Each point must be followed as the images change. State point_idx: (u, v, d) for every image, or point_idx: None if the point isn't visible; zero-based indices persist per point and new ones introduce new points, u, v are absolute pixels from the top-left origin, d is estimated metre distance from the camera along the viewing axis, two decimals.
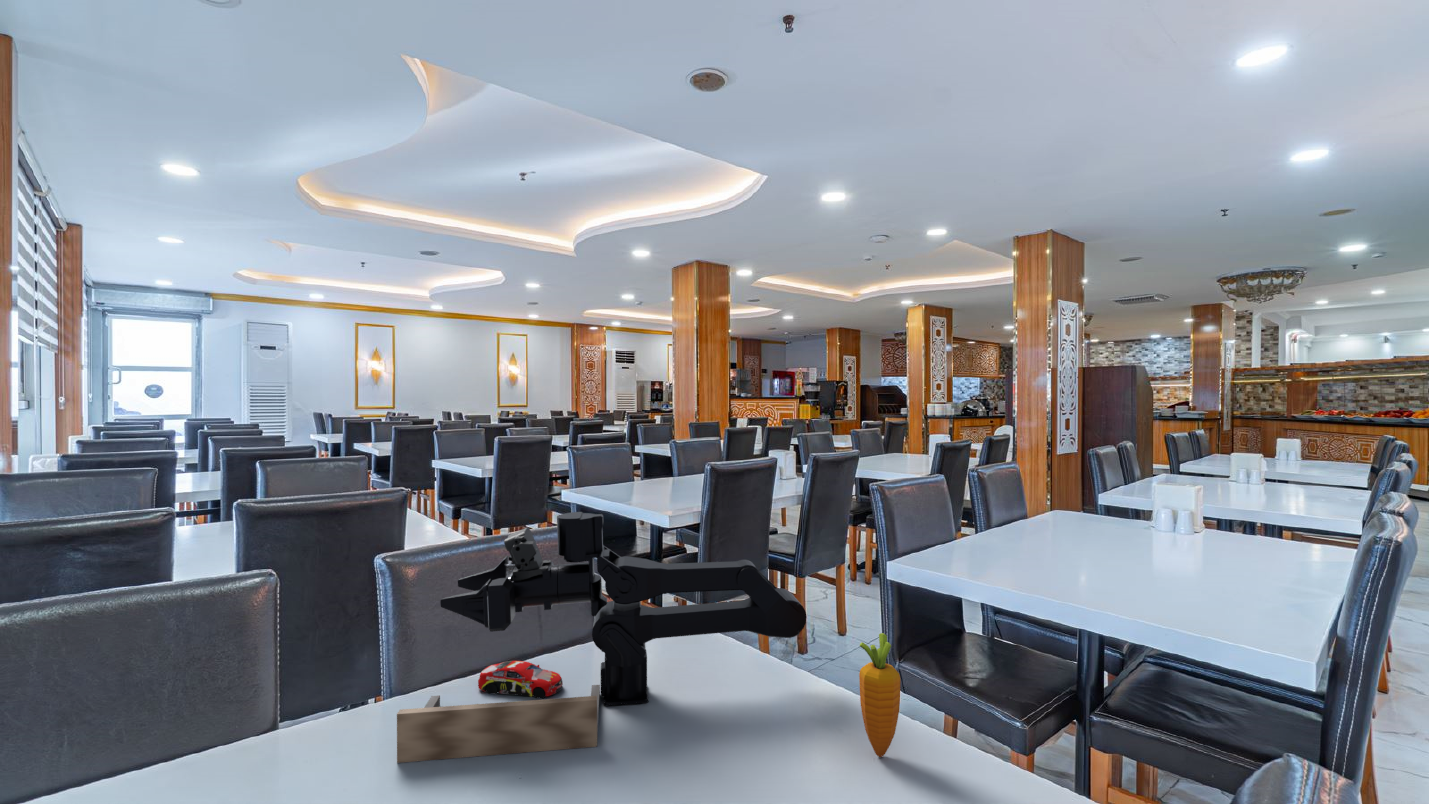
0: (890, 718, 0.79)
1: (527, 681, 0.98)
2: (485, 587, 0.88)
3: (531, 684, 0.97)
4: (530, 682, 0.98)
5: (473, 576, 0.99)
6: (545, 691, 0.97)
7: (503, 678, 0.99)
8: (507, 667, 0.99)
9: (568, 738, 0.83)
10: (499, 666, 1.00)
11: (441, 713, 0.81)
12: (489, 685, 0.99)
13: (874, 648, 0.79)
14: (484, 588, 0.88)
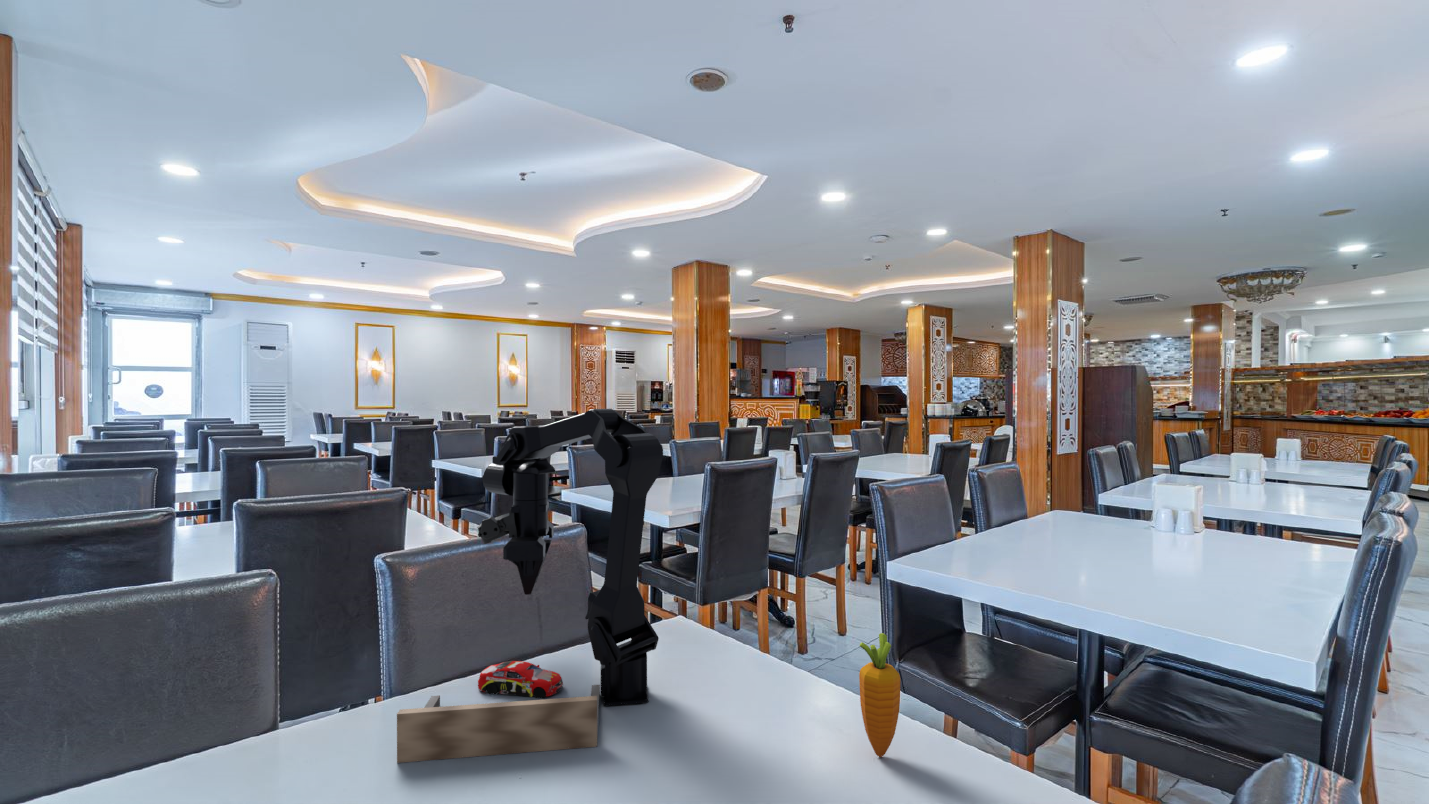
0: (890, 718, 0.79)
1: (527, 681, 0.98)
2: None
3: (531, 684, 0.97)
4: (530, 682, 0.98)
5: None
6: (545, 691, 0.97)
7: (503, 678, 0.98)
8: (507, 667, 0.99)
9: (568, 738, 0.83)
10: (499, 666, 1.00)
11: (441, 713, 0.81)
12: (489, 685, 0.99)
13: (874, 648, 0.79)
14: (509, 560, 1.05)
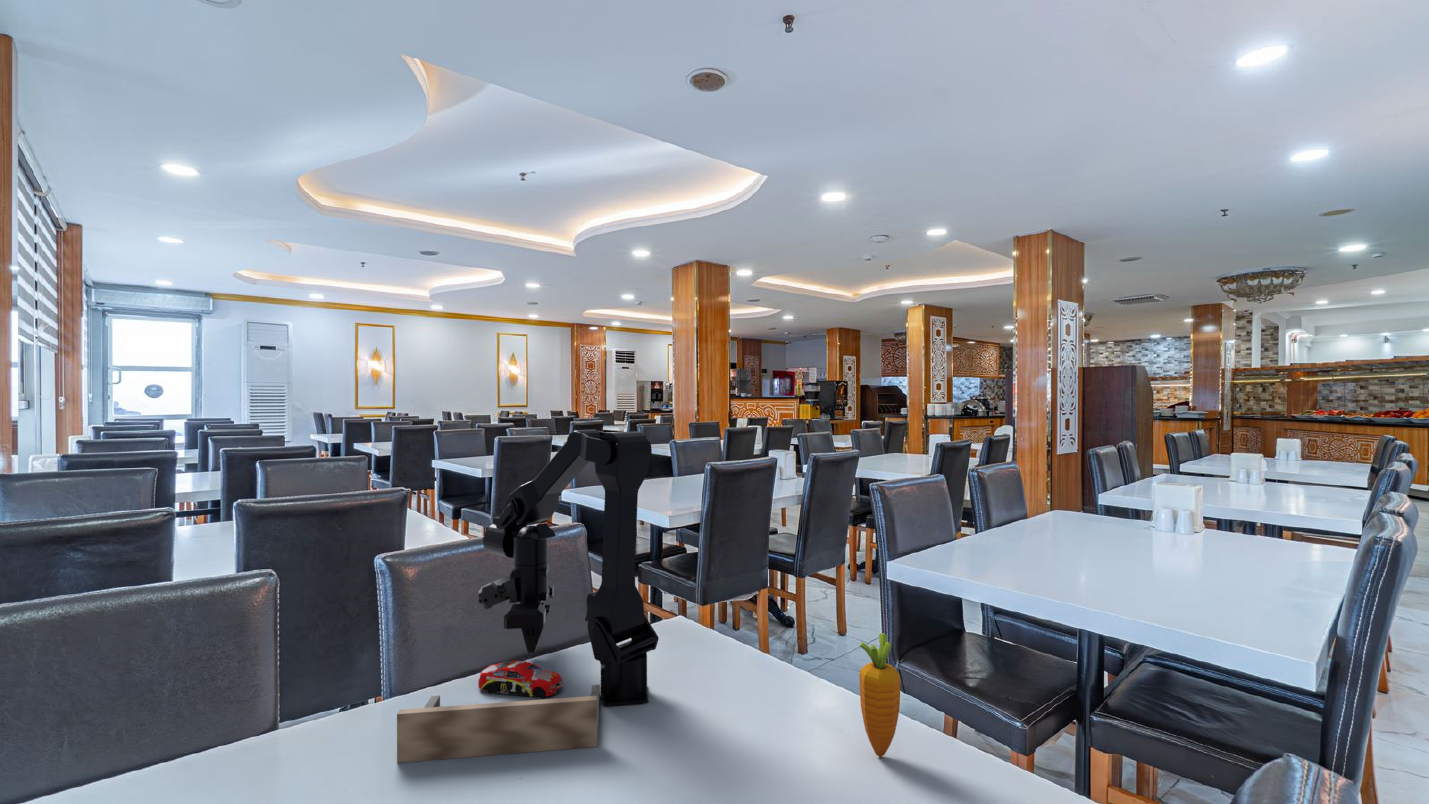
0: (890, 718, 0.79)
1: (527, 681, 0.98)
2: None
3: (531, 684, 0.97)
4: (530, 682, 0.98)
5: None
6: (545, 691, 0.97)
7: (503, 678, 0.99)
8: (508, 667, 0.99)
9: (568, 738, 0.83)
10: (499, 666, 1.00)
11: (441, 713, 0.81)
12: (489, 685, 0.99)
13: (874, 648, 0.79)
14: None
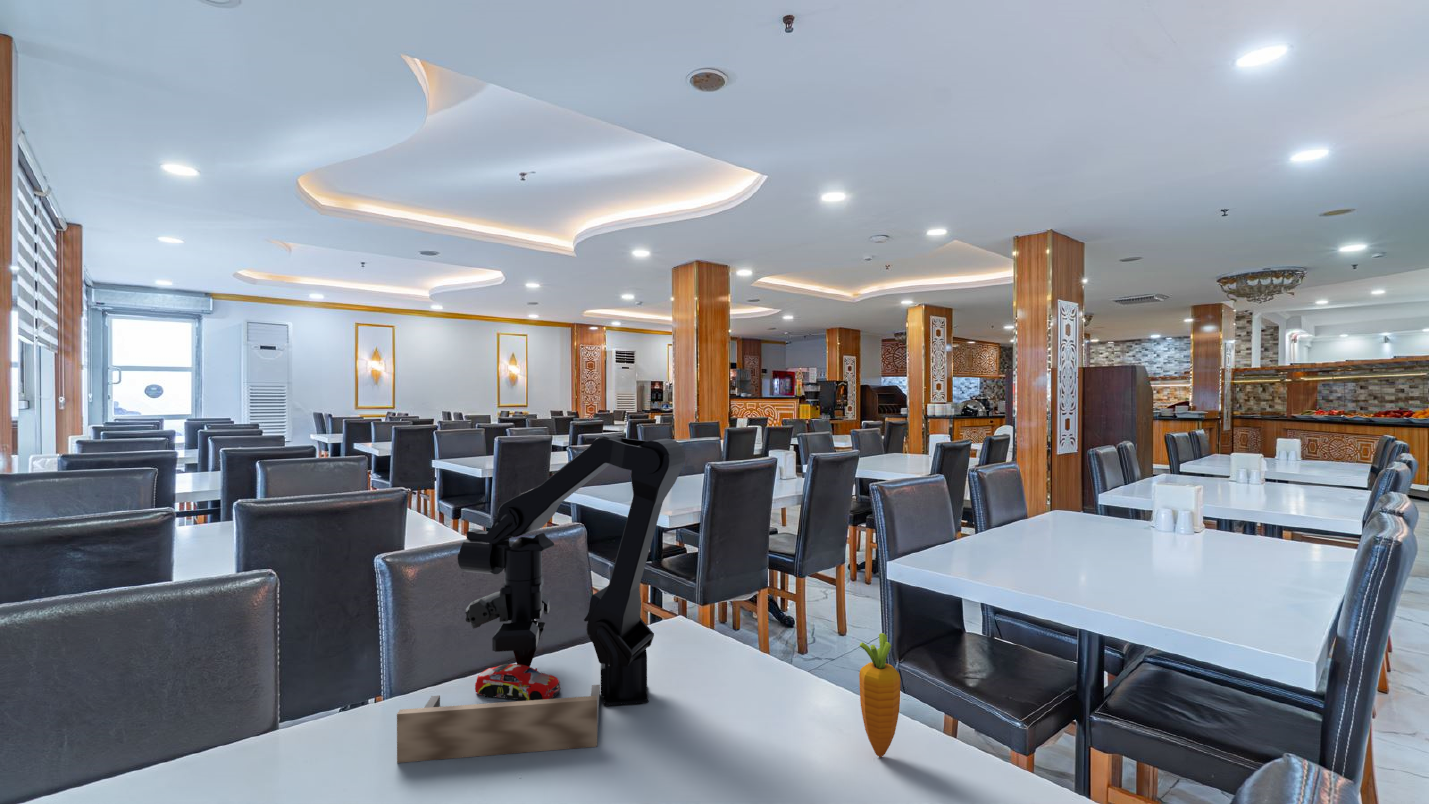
0: (890, 718, 0.79)
1: (524, 685, 0.96)
2: None
3: (528, 688, 0.96)
4: (527, 686, 0.96)
5: None
6: (542, 695, 0.96)
7: (500, 682, 0.97)
8: (504, 671, 0.98)
9: (568, 738, 0.83)
10: (496, 669, 0.99)
11: (441, 713, 0.81)
12: (486, 689, 0.98)
13: (874, 648, 0.79)
14: None
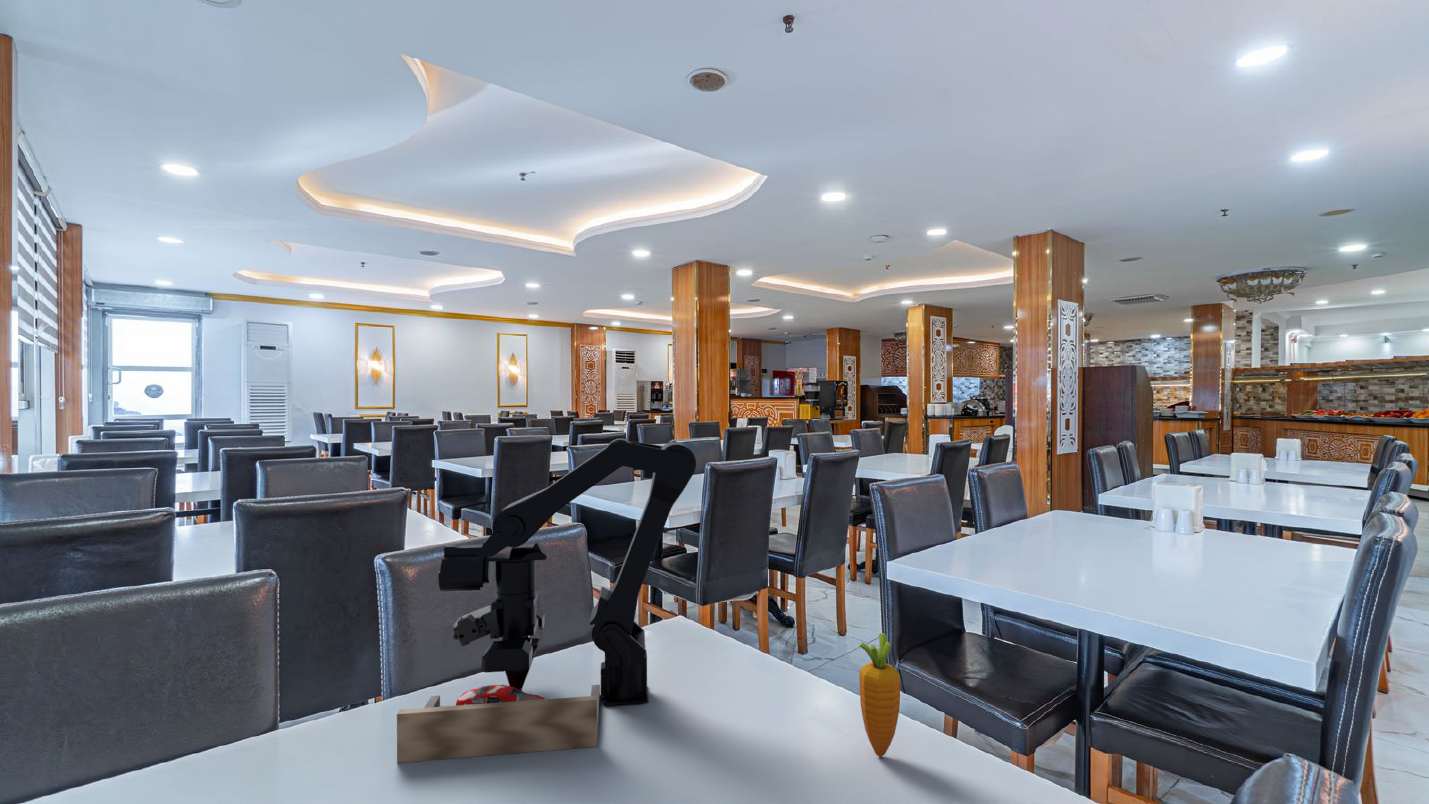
0: (890, 718, 0.79)
1: None
2: None
3: None
4: None
5: None
6: None
7: None
8: (488, 693, 0.91)
9: (568, 738, 0.83)
10: (478, 692, 0.92)
11: (441, 713, 0.81)
12: None
13: (874, 648, 0.79)
14: None
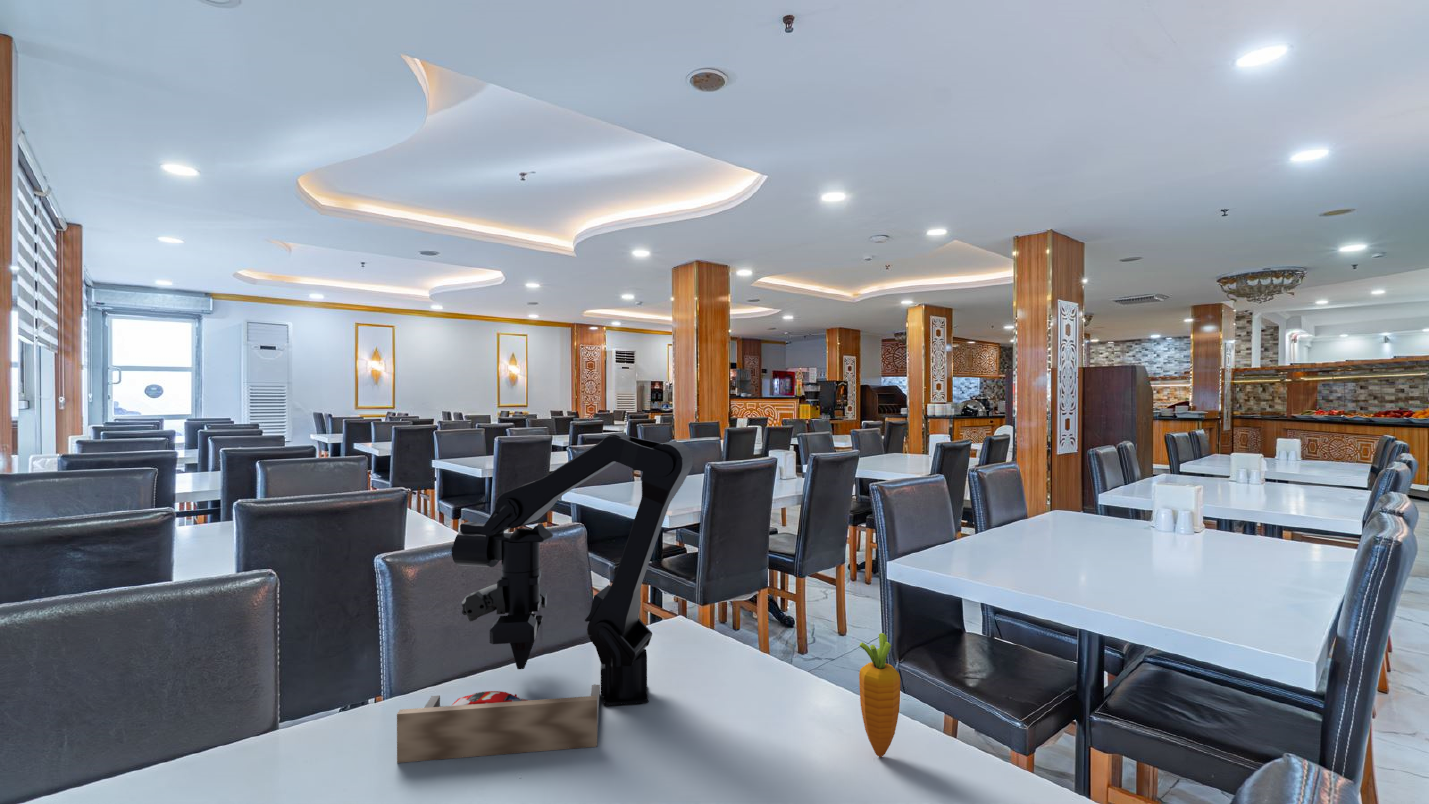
0: (890, 718, 0.79)
1: None
2: None
3: None
4: None
5: None
6: None
7: None
8: (482, 700, 0.89)
9: (568, 738, 0.83)
10: (472, 699, 0.89)
11: (441, 713, 0.81)
12: None
13: (874, 648, 0.79)
14: None
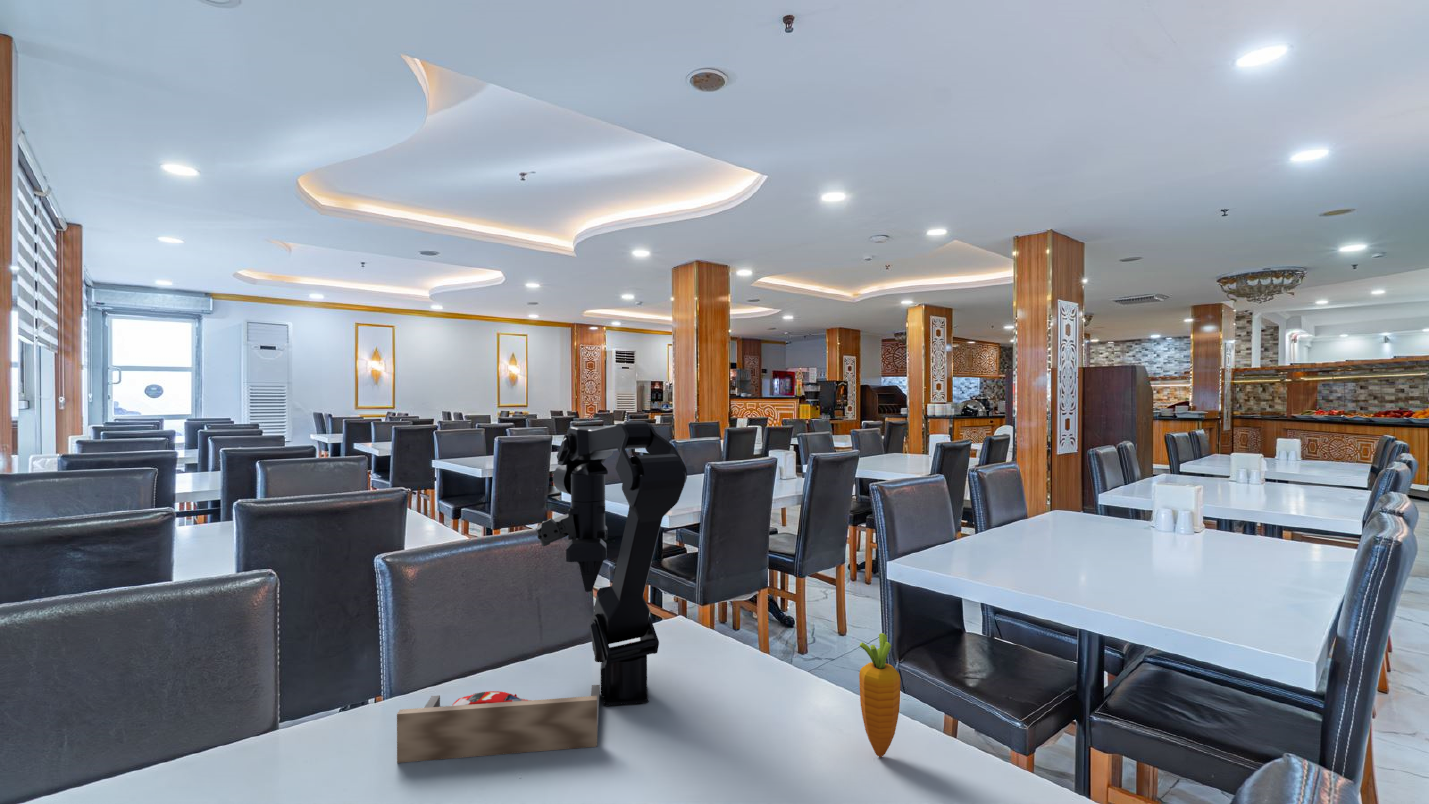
0: (890, 718, 0.79)
1: None
2: None
3: None
4: None
5: None
6: None
7: None
8: (482, 700, 0.89)
9: (568, 738, 0.83)
10: (472, 699, 0.89)
11: (441, 713, 0.81)
12: None
13: (874, 648, 0.79)
14: None
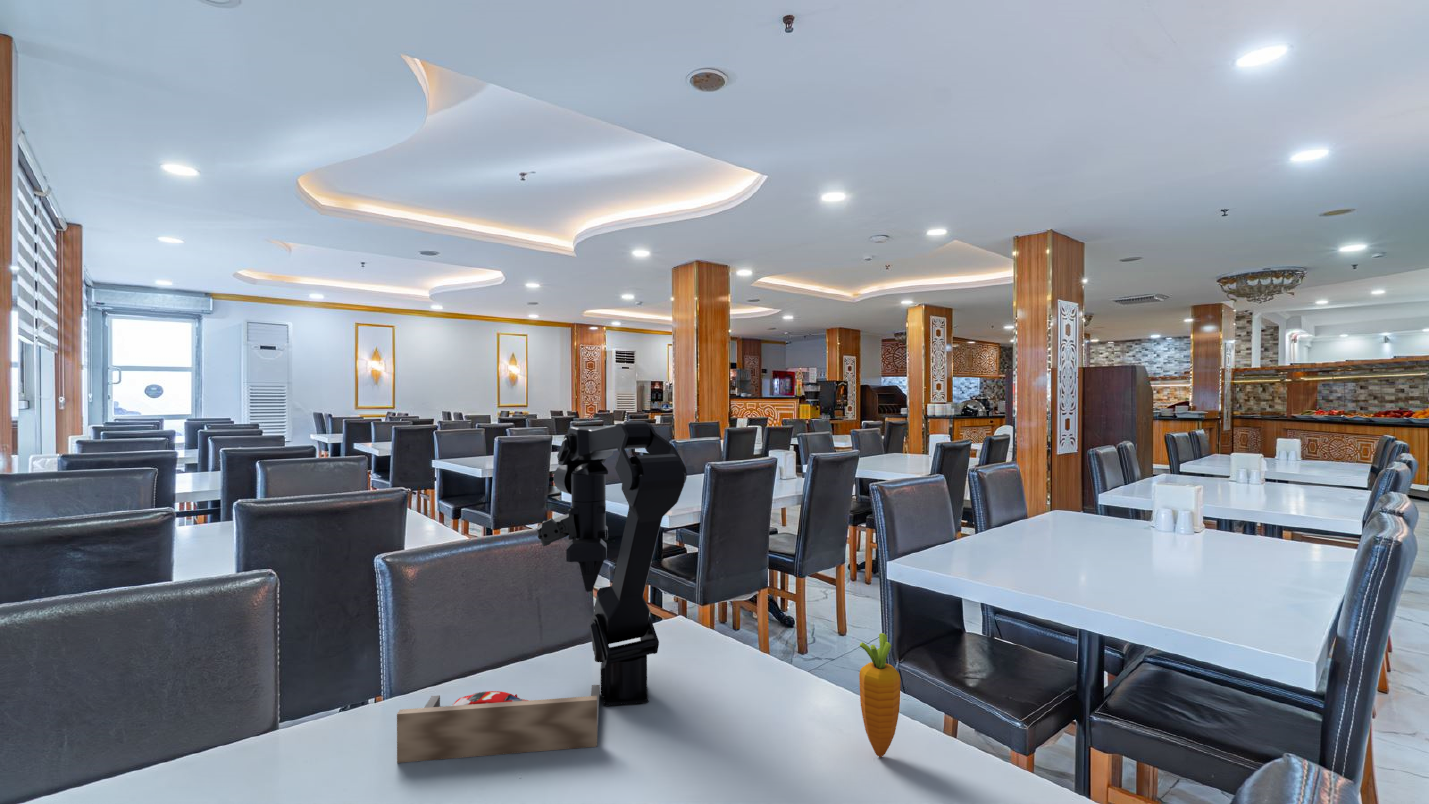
0: (890, 718, 0.79)
1: None
2: None
3: None
4: None
5: None
6: None
7: None
8: (483, 700, 0.89)
9: (568, 738, 0.83)
10: (472, 699, 0.89)
11: (441, 713, 0.81)
12: None
13: (874, 648, 0.79)
14: None
